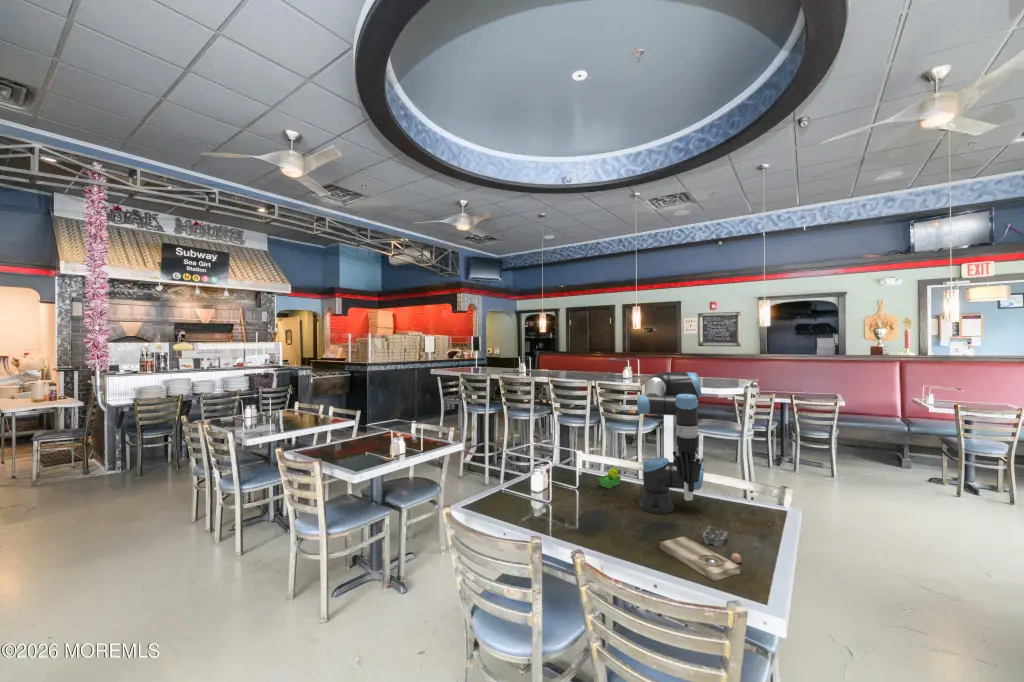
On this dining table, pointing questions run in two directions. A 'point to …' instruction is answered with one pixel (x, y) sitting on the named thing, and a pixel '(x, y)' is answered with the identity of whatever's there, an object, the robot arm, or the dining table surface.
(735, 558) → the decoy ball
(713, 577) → the hole plate
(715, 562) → the steel ball
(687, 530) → the dining table surface
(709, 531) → the egg carton
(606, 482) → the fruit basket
